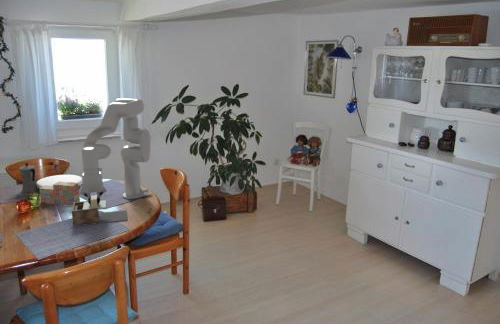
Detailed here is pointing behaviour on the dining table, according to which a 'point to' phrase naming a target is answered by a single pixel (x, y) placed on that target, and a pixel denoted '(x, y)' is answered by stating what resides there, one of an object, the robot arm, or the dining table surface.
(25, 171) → the coffeepot
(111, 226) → the dining table surface
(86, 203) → the lid
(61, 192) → the stack of blocks
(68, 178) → the plate
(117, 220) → the grey flat slab
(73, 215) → the box
